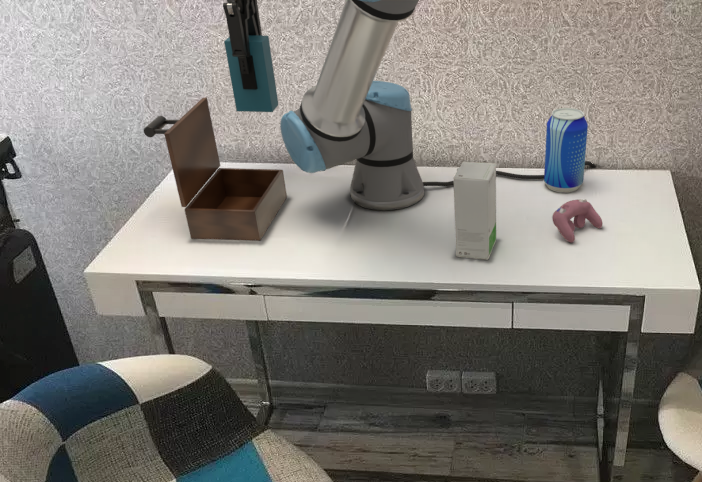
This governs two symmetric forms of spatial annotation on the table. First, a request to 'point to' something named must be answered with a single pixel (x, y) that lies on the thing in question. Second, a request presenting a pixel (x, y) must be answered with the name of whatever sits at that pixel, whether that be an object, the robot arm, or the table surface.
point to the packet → (266, 92)
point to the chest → (236, 204)
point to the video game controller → (575, 217)
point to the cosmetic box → (475, 209)
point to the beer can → (565, 150)
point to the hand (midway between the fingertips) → (254, 84)
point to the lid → (189, 149)
